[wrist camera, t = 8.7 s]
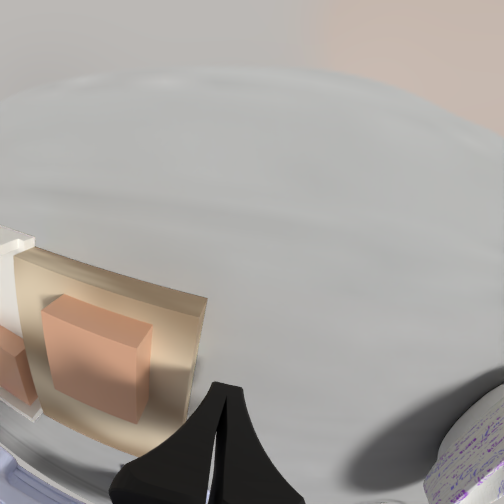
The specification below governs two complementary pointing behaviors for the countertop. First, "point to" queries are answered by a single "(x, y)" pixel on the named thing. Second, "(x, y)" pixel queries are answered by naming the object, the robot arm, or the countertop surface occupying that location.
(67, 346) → the terracotta tile
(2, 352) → the terracotta tile
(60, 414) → the oak board
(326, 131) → the countertop surface
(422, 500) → the countertop surface
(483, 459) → the white purple patterned bowl
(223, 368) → the countertop surface
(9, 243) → the bin
